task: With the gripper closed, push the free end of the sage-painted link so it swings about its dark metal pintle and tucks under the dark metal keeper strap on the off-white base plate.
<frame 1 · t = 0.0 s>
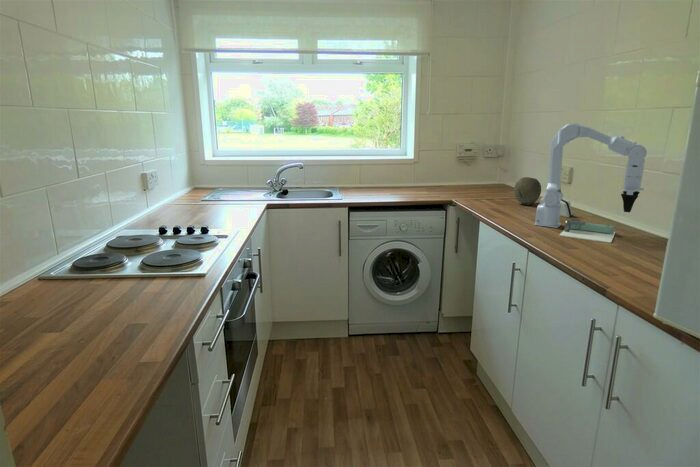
hand: (627, 210, 170), 10 cm above the table, tool pointing down, fingers open, 7 cm apart
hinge: (555, 214, 212), on the table
link: (590, 226, 177), point 2 cm above the table, hinge at 0.0°
keeper: (573, 229, 181), resting on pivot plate
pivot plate: (587, 234, 173), on the table
cantaloupe: (526, 204, 236), on the table
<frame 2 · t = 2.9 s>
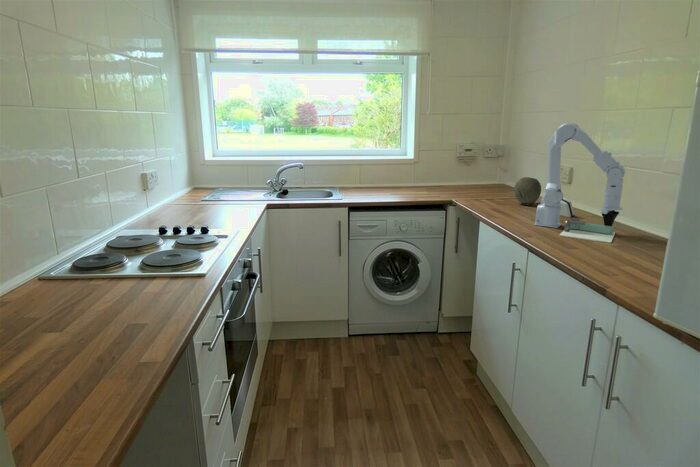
hand: (607, 228, 175), 2 cm above the table, tool pointing down, fingers closed
link: (589, 227, 176), point 2 cm above the table, hinge at 5.2°, touching gripper
everything else where it was.
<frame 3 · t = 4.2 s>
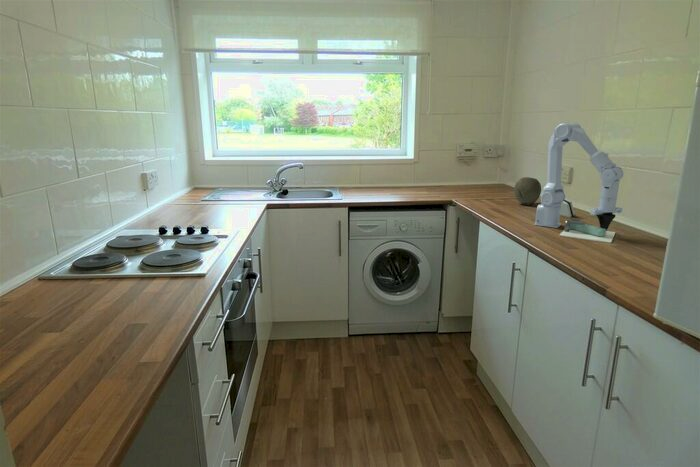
hand: (603, 231, 170), 2 cm above the table, tool pointing down, fingers closed
link: (586, 228, 175), point 2 cm above the table, hinge at 34.3°, touching gripper
everything else where it was.
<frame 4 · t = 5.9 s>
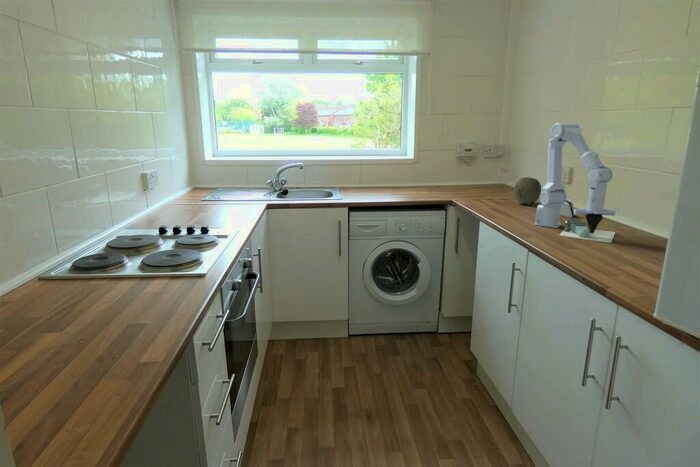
hand: (591, 232, 168), 2 cm above the table, tool pointing down, fingers closed
link: (578, 228, 174), point 2 cm above the table, hinge at 64.6°, touching gripper
everything else where it was.
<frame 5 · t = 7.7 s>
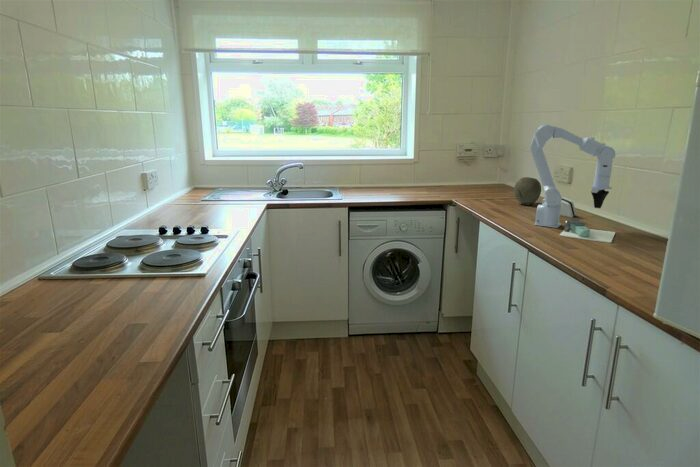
hand: (597, 207, 180), 9 cm above the table, tool pointing down, fingers closed
link: (578, 228, 174), point 2 cm above the table, hinge at 64.6°
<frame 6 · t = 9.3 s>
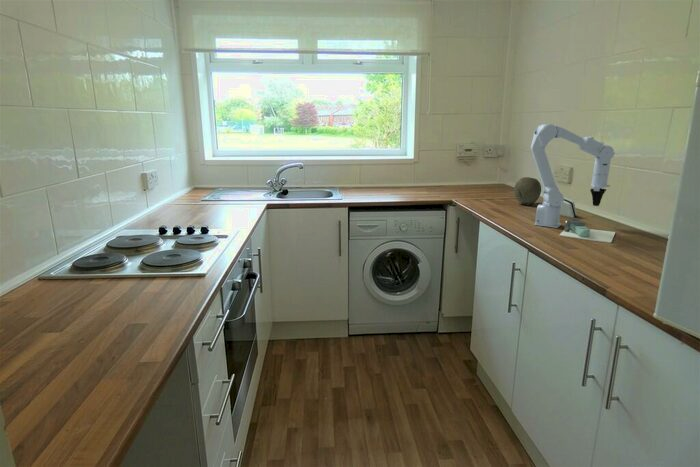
hand: (595, 205, 183), 9 cm above the table, tool pointing down, fingers closed
at the end: link at +65° (first picture: +0°); the gripper is holding nothing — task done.
